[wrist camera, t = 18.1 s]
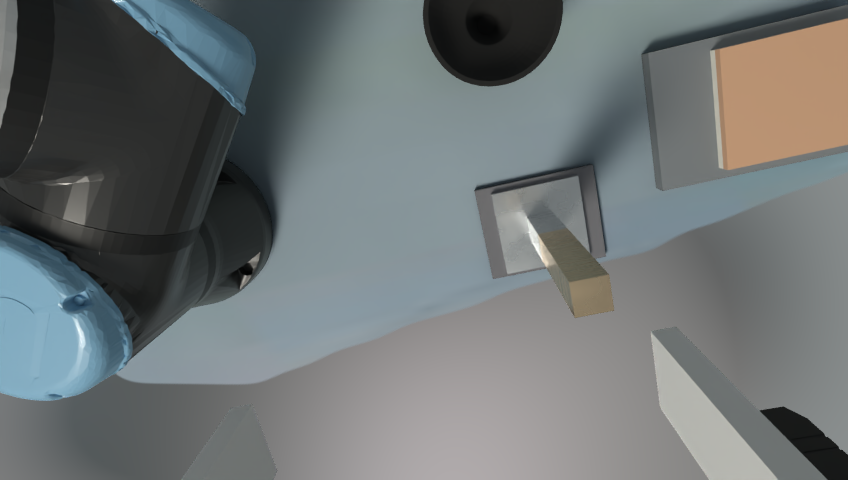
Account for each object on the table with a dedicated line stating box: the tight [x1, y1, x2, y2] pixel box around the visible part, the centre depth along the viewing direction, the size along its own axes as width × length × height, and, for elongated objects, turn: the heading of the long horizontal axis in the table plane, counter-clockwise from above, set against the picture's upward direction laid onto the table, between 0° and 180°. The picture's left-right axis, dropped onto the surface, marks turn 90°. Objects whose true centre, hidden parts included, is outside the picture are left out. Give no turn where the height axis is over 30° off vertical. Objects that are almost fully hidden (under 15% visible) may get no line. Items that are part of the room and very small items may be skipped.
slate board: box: [642, 5, 848, 191], centre depth 43 cm, size 16×12×2 cm
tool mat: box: [475, 164, 606, 279], centre depth 47 cm, size 11×9×1 cm
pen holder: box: [423, 0, 563, 86], centre depth 38 cm, size 9×9×10 cm
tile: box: [710, 18, 848, 170], centre depth 41 cm, size 2×10×10 cm
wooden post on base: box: [491, 175, 614, 318], centre depth 39 cm, size 8×8×18 cm
